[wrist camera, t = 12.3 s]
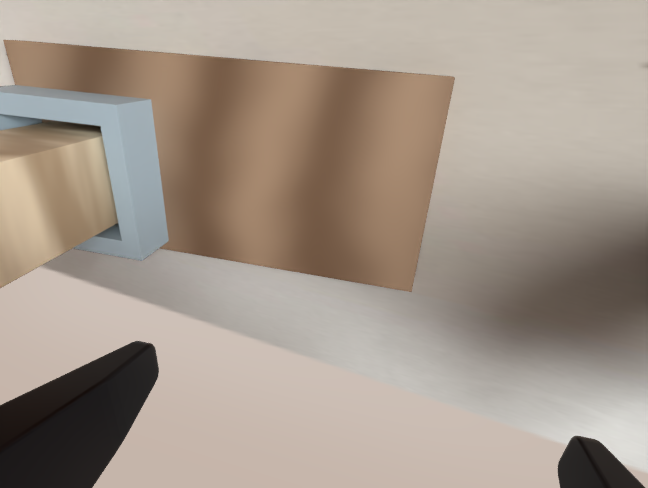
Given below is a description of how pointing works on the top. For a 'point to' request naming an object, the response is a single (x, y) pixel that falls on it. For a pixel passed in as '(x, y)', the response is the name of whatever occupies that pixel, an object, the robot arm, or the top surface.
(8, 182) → the beech pillar
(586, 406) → the top surface
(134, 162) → the slate socket block
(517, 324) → the top surface
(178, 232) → the tan flat plate
